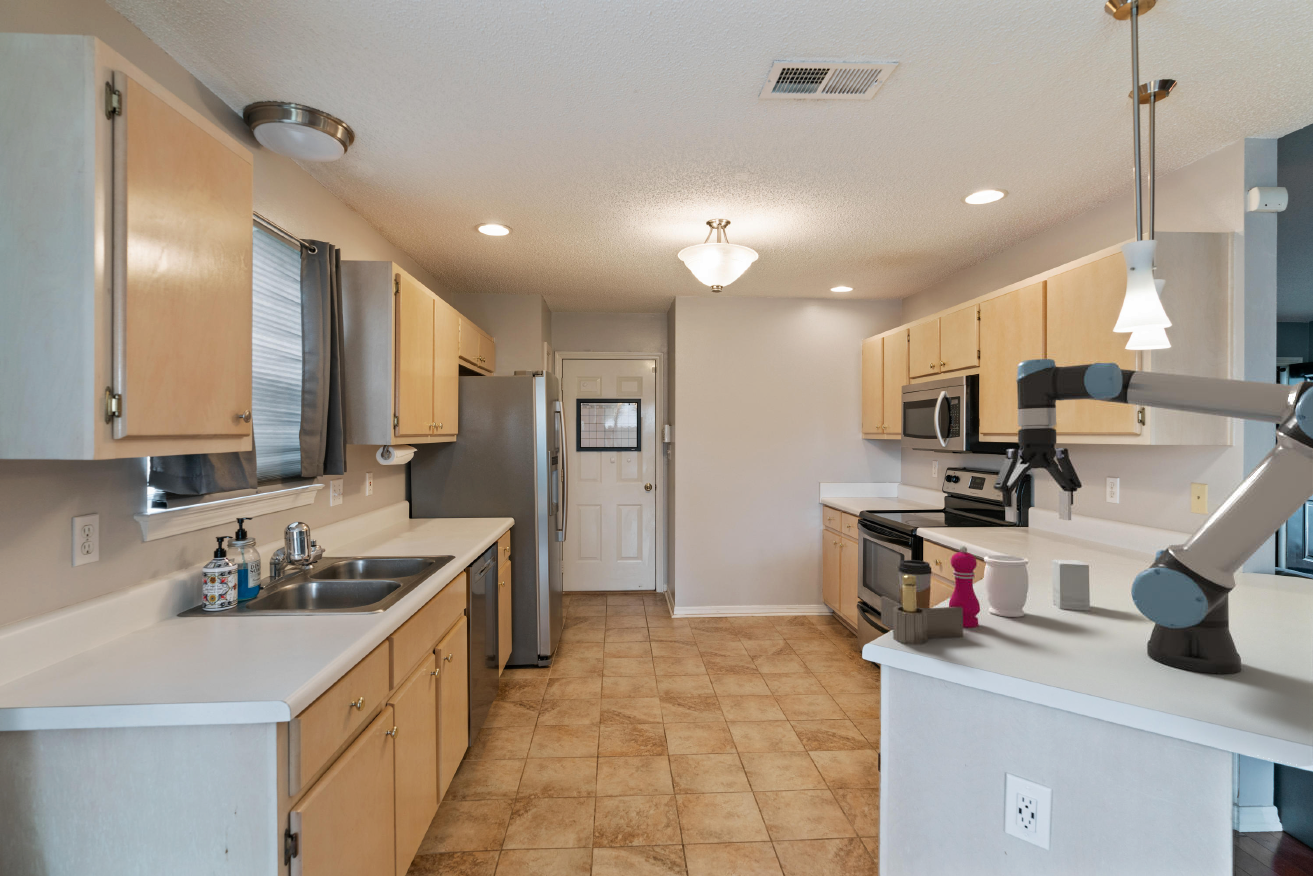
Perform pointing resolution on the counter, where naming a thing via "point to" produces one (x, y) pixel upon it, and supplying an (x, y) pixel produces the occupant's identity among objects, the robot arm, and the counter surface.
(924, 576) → the coffee cup
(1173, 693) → the counter surface
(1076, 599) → the supplement box
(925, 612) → the hinge
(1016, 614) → the jar
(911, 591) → the gold metal bar
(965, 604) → the pepper mill
